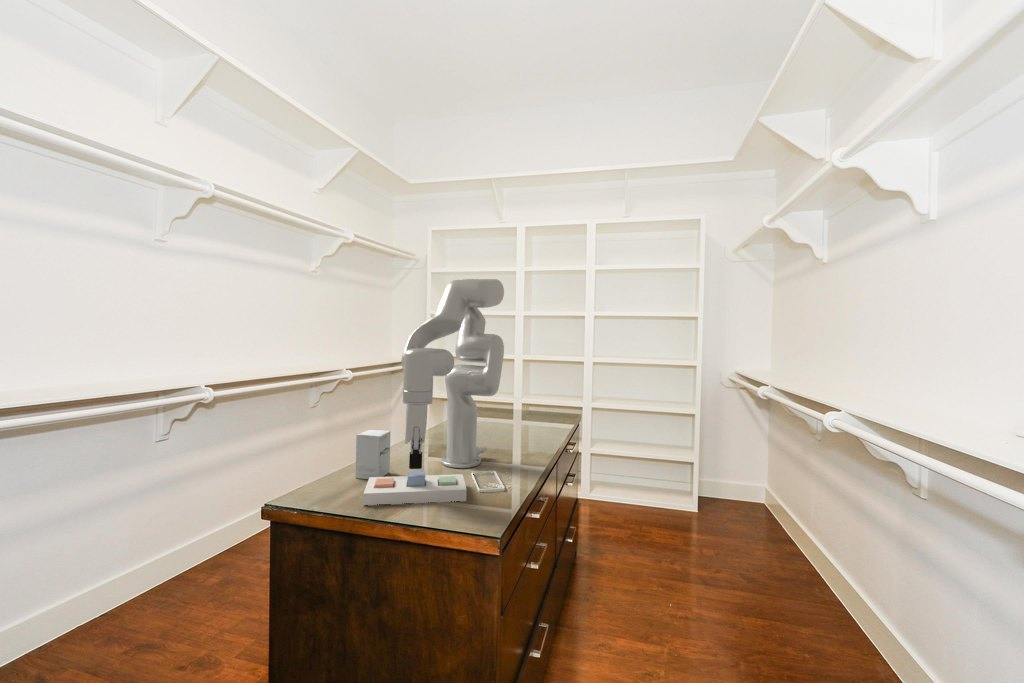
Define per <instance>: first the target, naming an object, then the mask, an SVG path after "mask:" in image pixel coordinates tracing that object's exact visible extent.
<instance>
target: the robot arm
mask: <svg viewBox="0 0 1024 683" xmlns="http://www.w3.org/2000/svg"><path fill="white" fill-rule="evenodd" d="M504 295H505V288H504V285H503V283H502V282H501V281H500V280H499V279H498V278H497V279H496V278H465V279H464V278H463V279H455V280H451V281H449V282H448V283H447V284H446V286H445V289H444V291H443V293H442V296H441V298H440V301H439V303H438V306H437V307H436V310H435V313H434V315H433V316H432V317H431V318H429V319H427V320H425V321H424V322H422V324H421V325H419V326H418V327H417V328H416V329H415V330H414V331H413V332H412V333H411V334H410V335H409V337H408V339H407V341H406V344H405V346H404V349H403V352H402V355H401V367H402V369H403V383H402V384H403V385H402V386H403V388H402V389H403V390H402V403H403V405H406V409H405V410H406V412H405V429H404V430H405V432H404V433H405V434H404V442H405V444H407V445H408V443H410V451H409V456H408V457H409V458H408V459H409V462H408V465H409V466H408V468H409V470H420V469H421V470H422V468H423V451H422V444H424V443H425V440H426V439H425V438H426V434H427V426H428V425H427V423H428V422H427V420H428V405H431V404H433V394H434V393H433V390H434V377H444V381H445V389H446V398H447V417H446V418H447V419H446V420H447V421H446V455H445V456H443V457H441V460H440V461H441V464H442V465H443V466H445V467H449V468H453V469H468V468H474V467H477V466H479V465H480V464H481V462H482V461H481V460H482V458H481V457H480V456H479V455H480V454H484V453H486V452H487V450H488V449H487V447H486V446H481V447H478V446H477V436H478V435H477V434H478V433H477V431H478V427H477V426H478V407H477V403H476V401H475V400H474V399H473V397H472V396H477V397H493V396H495V395H496V394H497V393H498V391H499V387H500V384H501V383H500V382H501V378H502V370H503V364H504V355H505V345H504V341H503V339H502V337H501V336H500V335H498V334H496V333H495V334H494V333H485V328H486V324H487V323H486V319H485V317H484V314H483V313H482V311H481V310H480V309H484V308H485V309H486V308H492V307H496V306H498V305H500V304H501V303H502V301H503V299H504ZM456 332H458V333H457V338H456V342H455V343H456V345H455V351H454V352H455V353H454V354H455V357H456V358H457V360H459V361H461V362H465V363H478V364H480V363H481V364H485V365H474V364H455V358H454V356H453V354H452V353H451V351H449V350H447V349H444V348H432V347H431V348H429V347H427V346H428V345H429V344H431V343H432V342H434V341H436V340H438V339H442V338H445V337H447V336H450V335H452V334H455V333H456Z"/></svg>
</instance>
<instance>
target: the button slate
mask: <svg viewBox="0 0 1024 683" xmlns="http://www.w3.org/2000/svg"><path fill="white" fill-rule="evenodd" d="M425 475H426V470H408V471H407V476H408V487H418V486H425Z"/></svg>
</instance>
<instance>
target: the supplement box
mask: <svg viewBox="0 0 1024 683" xmlns="http://www.w3.org/2000/svg"><path fill="white" fill-rule="evenodd" d="M355 444H356V445H355V478H356V479H364V480H369V477H385V476H386V475H388V474H389V473H390V472H391V470H390V468H391V465H390V464H391V430H383V429H382V430H381V429H379V430H378V429H367V430H365V431H363V432H360V433H359V434H356V441H355ZM387 473H388V474H387Z"/></svg>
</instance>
